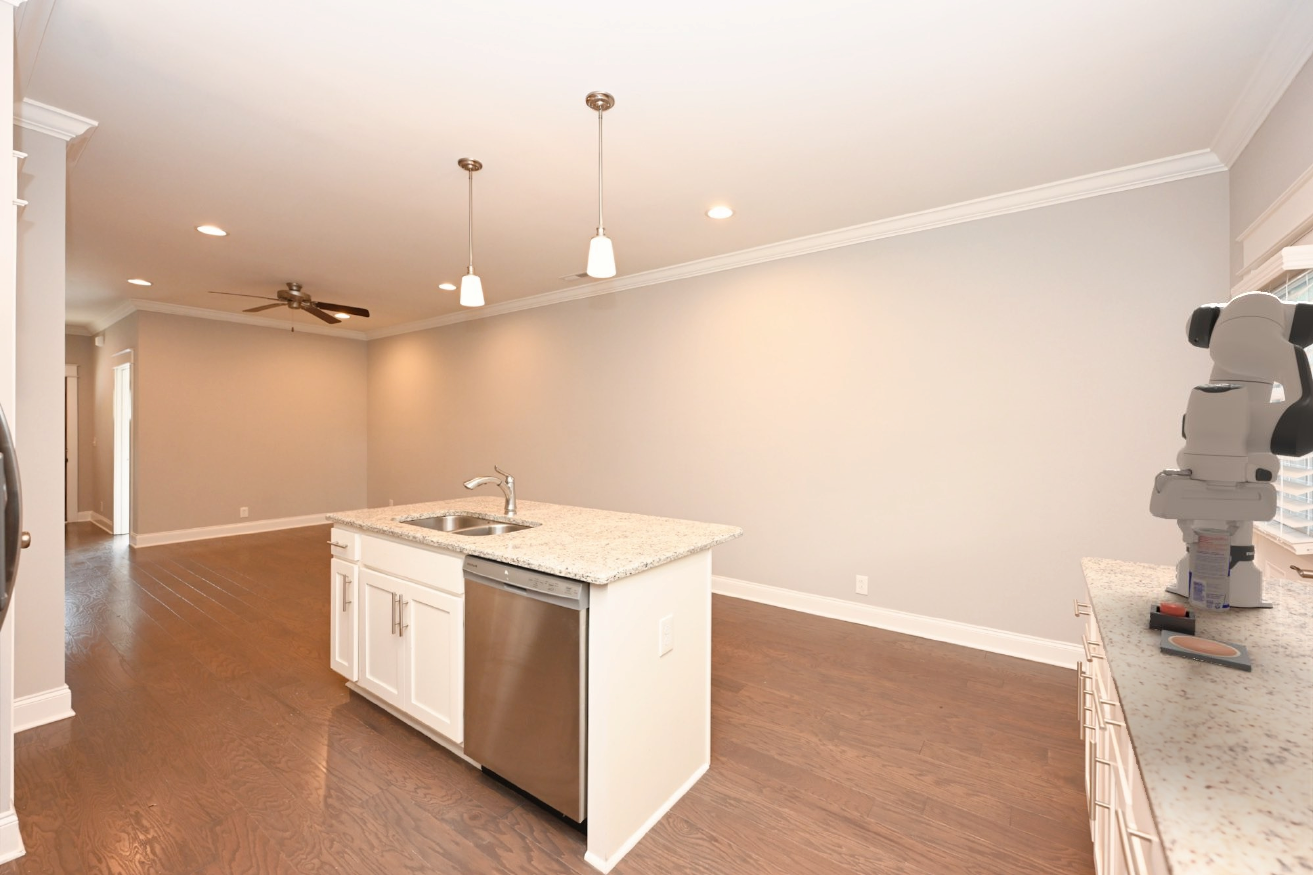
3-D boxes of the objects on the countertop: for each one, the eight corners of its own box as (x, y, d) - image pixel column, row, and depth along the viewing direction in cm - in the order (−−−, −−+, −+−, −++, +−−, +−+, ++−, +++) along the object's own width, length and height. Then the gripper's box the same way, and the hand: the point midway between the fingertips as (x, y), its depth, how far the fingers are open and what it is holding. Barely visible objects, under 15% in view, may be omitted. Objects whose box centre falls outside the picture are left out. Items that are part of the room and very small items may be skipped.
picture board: (1161, 634, 118) (1161, 628, 118) (1245, 650, 110) (1245, 645, 110) (1160, 651, 109) (1160, 646, 109) (1251, 671, 101) (1251, 665, 101)
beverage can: (1238, 612, 107) (1239, 532, 106) (1206, 613, 107) (1207, 532, 106) (1210, 602, 112) (1211, 526, 111) (1180, 603, 112) (1181, 526, 112)
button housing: (1150, 619, 127) (1151, 604, 126) (1194, 628, 122) (1195, 611, 122) (1149, 628, 121) (1150, 612, 121) (1194, 637, 117) (1195, 620, 116)
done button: (1160, 612, 124) (1160, 601, 124) (1185, 617, 122) (1185, 605, 122) (1159, 617, 121) (1160, 605, 121) (1185, 622, 119) (1185, 610, 119)
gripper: (1170, 470, 105) (1166, 545, 106) (1287, 473, 105) (1281, 548, 105) (1142, 467, 112) (1138, 538, 112) (1252, 469, 111) (1247, 541, 112)
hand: (1208, 543), depth 109 cm, fingers closed on beverage can, 5 cm apart
